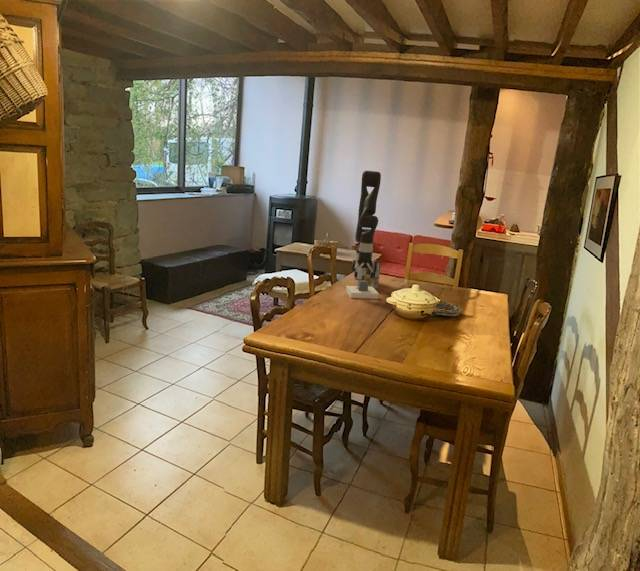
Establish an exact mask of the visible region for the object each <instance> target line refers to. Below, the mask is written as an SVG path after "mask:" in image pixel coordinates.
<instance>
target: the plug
mask: <svg viewBox="0 0 640 571" xmlns="http://www.w3.org/2000/svg"><path fill="white" fill-rule="evenodd" d="M356 286H357V289H358V290H359V291H368V283H367V281H365V280H357V285H356Z"/></svg>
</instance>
